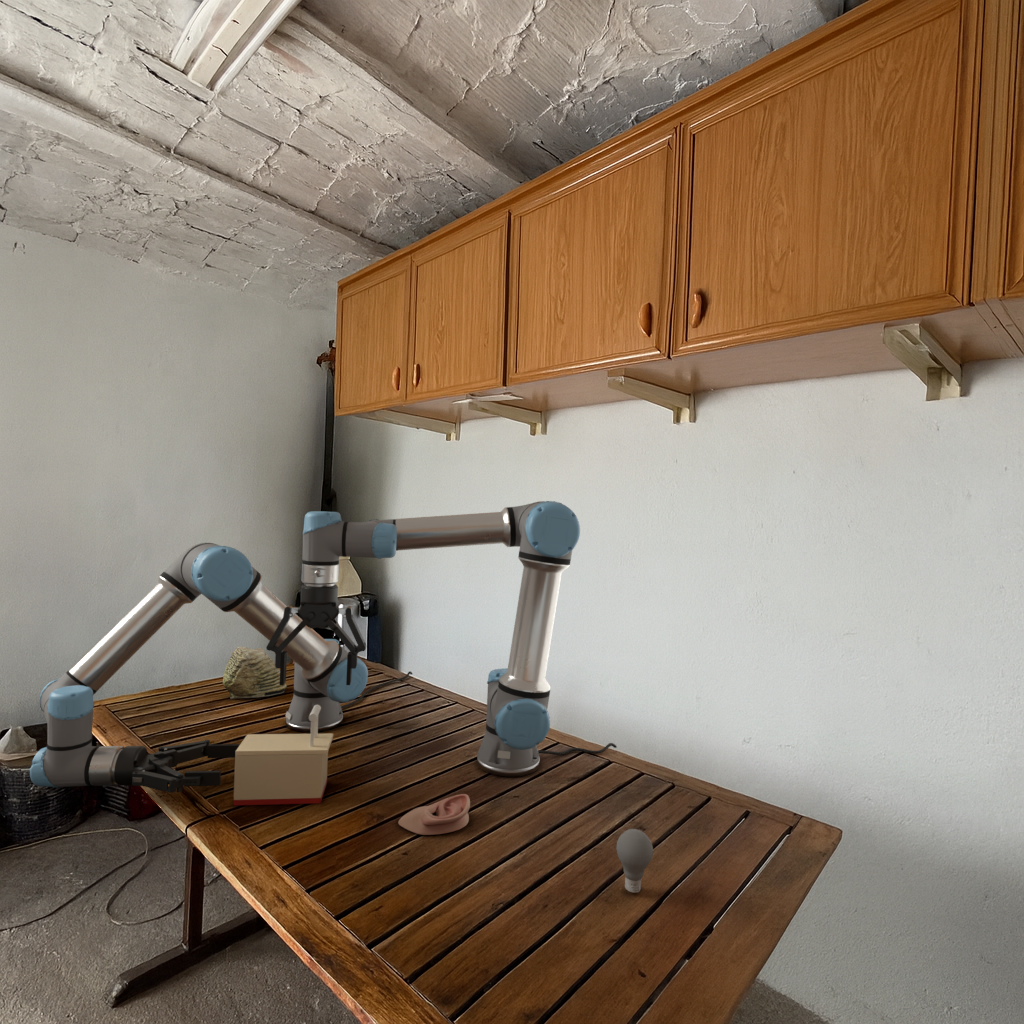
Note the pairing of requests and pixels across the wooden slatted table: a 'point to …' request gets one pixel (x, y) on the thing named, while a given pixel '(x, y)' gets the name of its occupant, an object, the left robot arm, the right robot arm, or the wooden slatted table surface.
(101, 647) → the left robot arm
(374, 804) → the wooden slatted table surface
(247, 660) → the fossil
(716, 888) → the wooden slatted table surface
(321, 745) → the lid
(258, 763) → the chest
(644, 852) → the light bulb
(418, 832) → the anatomical model
